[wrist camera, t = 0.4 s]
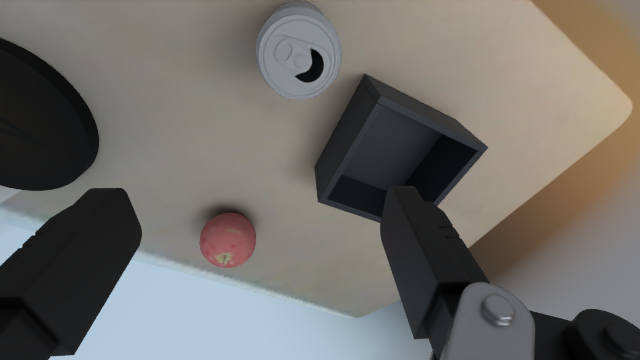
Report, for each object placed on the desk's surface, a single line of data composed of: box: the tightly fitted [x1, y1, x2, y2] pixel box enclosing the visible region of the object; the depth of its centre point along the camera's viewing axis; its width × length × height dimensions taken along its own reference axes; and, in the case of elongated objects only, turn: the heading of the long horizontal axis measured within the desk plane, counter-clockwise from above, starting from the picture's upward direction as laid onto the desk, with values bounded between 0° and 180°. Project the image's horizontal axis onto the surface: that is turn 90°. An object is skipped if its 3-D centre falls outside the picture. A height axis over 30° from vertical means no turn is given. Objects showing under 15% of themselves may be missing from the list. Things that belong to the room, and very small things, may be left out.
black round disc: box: [0, 38, 99, 191], centre depth 32 cm, size 18×18×2 cm
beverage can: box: [255, 0, 342, 100], centre depth 25 cm, size 6×6×12 cm
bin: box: [314, 74, 488, 223], centre depth 35 cm, size 14×14×8 cm
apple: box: [200, 213, 256, 268], centre depth 40 cm, size 7×7×8 cm
